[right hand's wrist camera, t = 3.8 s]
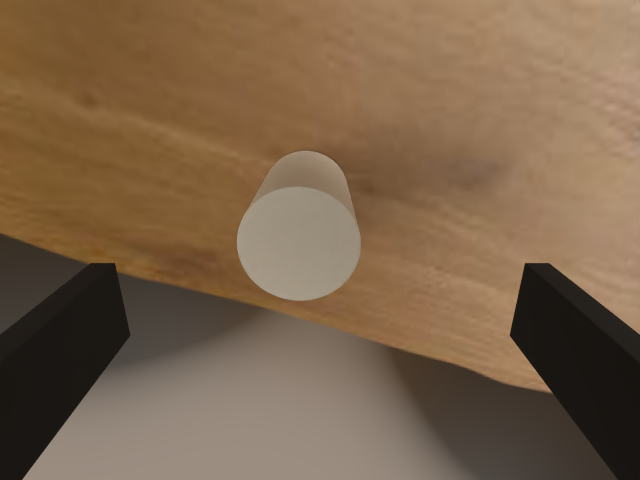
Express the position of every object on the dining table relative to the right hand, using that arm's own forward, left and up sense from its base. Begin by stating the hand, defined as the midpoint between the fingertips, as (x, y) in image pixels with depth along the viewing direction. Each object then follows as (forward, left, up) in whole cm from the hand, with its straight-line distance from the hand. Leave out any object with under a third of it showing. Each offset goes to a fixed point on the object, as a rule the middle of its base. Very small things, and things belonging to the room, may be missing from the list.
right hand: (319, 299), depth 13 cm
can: (-1, -1, -14) cm, 14 cm away
